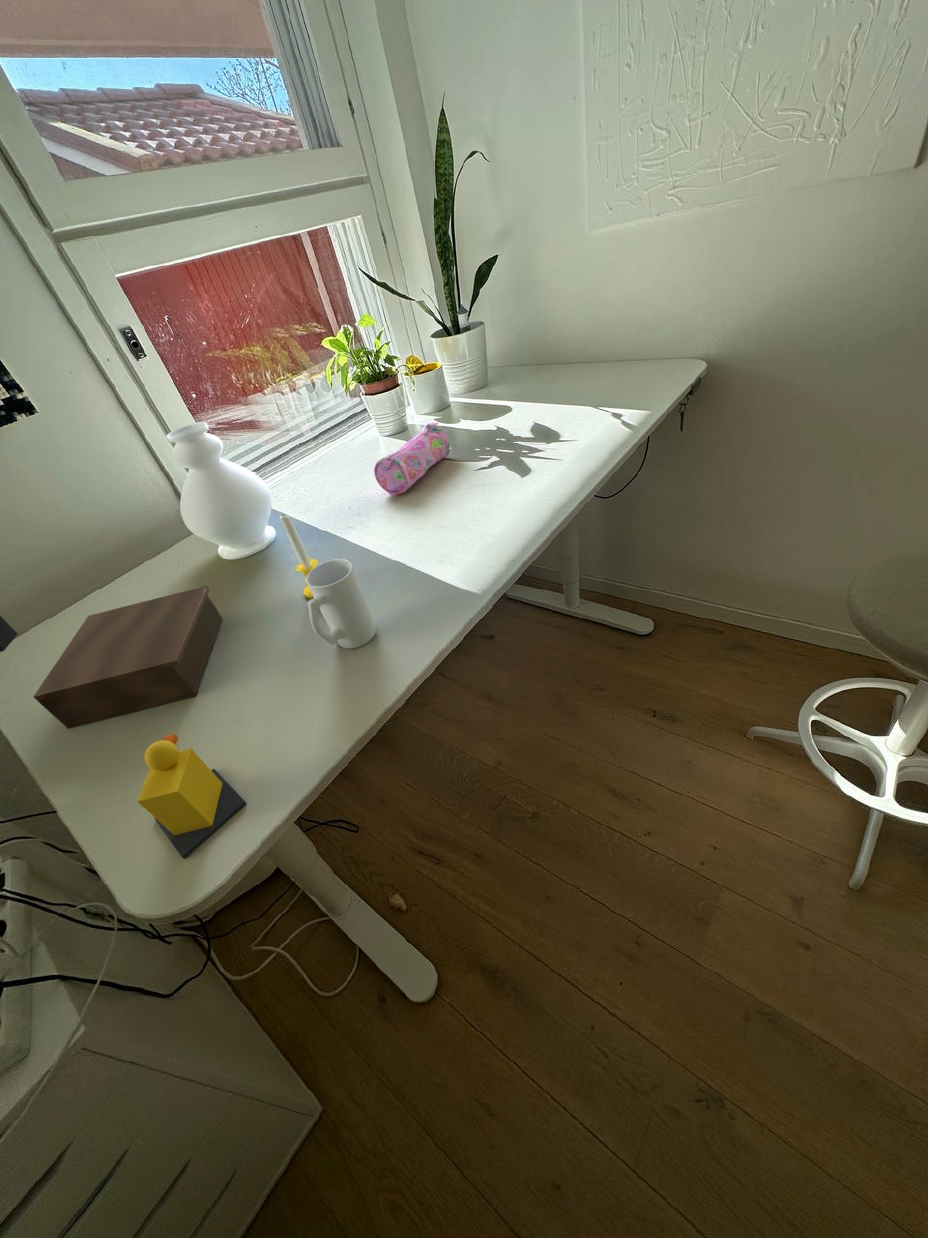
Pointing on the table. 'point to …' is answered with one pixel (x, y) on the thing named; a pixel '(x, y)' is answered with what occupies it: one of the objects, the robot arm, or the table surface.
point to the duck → (179, 787)
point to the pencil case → (412, 460)
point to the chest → (143, 682)
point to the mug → (339, 604)
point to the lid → (126, 643)
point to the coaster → (224, 811)
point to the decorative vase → (221, 495)
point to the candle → (299, 551)
